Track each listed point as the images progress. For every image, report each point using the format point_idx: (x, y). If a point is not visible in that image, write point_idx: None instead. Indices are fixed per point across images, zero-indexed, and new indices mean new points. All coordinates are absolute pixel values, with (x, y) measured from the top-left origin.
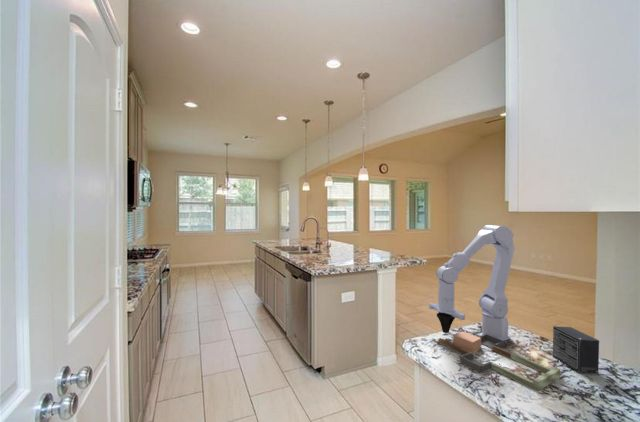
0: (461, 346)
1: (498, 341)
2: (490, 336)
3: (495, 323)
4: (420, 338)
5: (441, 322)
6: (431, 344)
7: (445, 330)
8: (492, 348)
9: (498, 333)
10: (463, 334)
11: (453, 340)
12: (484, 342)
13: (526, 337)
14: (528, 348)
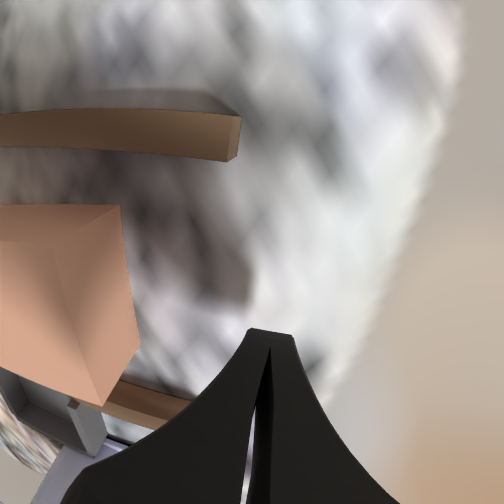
0: (45, 210)
1: (36, 418)
2: (66, 443)
3: (33, 501)
4: (440, 66)
5: (299, 426)
6: (271, 15)
7: (241, 347)
8: None
9: (52, 464)
10: (40, 342)
11: (92, 219)
12: (67, 395)
13: None
14: (16, 424)
